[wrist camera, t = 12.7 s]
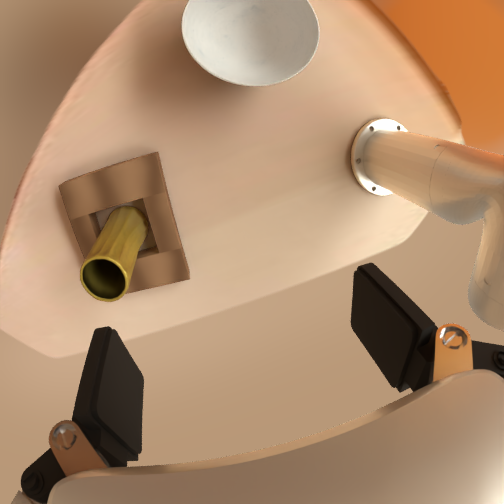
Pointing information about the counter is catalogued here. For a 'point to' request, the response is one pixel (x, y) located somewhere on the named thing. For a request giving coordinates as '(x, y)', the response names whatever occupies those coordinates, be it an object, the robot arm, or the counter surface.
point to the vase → (114, 255)
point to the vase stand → (122, 191)
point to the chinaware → (251, 38)
